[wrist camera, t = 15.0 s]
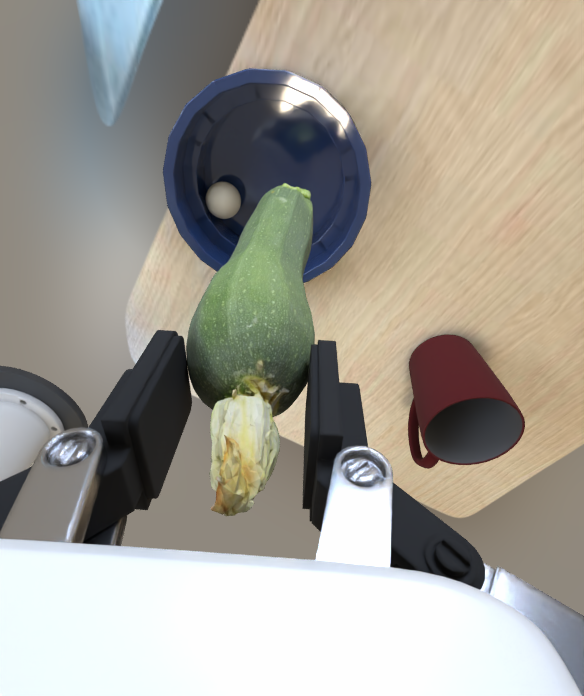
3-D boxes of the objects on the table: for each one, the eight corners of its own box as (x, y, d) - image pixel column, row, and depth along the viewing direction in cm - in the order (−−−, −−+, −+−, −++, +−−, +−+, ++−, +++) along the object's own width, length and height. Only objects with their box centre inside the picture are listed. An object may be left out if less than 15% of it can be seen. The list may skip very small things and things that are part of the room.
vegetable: (294, 247, 26) (264, 590, 10) (232, 218, 25) (98, 553, 9) (328, 185, 23) (354, 523, 8) (260, 148, 22) (136, 459, 7)
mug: (431, 416, 50) (455, 492, 41) (372, 390, 48) (384, 463, 39) (500, 349, 44) (547, 421, 35) (435, 315, 42) (467, 382, 33)
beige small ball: (241, 222, 34) (252, 191, 34) (212, 202, 32) (224, 170, 32) (222, 227, 36) (232, 198, 36) (194, 209, 34) (205, 179, 34)
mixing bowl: (194, 256, 40) (177, 281, 35) (175, 64, 31) (148, 62, 26) (350, 266, 39) (354, 293, 34) (376, 75, 30) (387, 75, 25)
